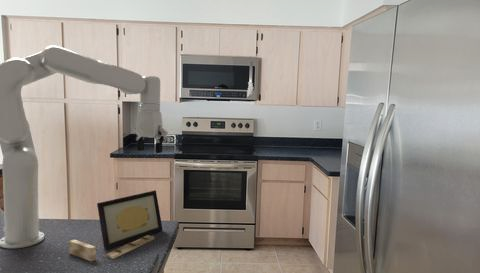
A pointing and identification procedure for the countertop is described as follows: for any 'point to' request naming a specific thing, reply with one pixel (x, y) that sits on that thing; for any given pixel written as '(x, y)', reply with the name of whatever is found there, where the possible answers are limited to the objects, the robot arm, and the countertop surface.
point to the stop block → (82, 250)
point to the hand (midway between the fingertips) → (149, 151)
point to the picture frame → (129, 218)
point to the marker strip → (129, 247)
